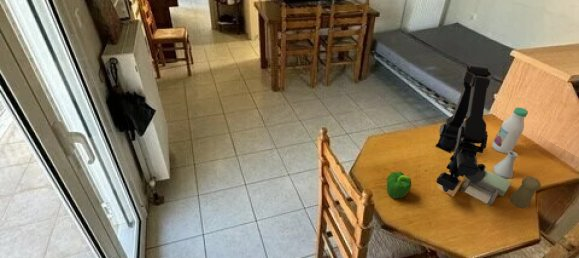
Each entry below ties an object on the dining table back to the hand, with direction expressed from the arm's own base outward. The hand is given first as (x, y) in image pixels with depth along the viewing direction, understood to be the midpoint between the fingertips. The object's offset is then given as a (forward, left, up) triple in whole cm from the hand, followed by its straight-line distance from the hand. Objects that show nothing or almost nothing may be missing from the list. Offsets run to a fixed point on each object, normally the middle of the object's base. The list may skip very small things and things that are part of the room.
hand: (448, 186), depth 118 cm
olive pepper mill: (+21, +12, -1) cm, 24 cm away
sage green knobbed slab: (+9, +14, -1) cm, 17 cm away
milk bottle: (+7, +40, -1) cm, 41 cm away
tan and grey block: (0, 0, -1) cm, 1 cm away
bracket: (+9, +6, -1) cm, 11 cm away
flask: (+12, +24, -1) cm, 27 cm away
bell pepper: (-13, -16, -1) cm, 21 cm away
